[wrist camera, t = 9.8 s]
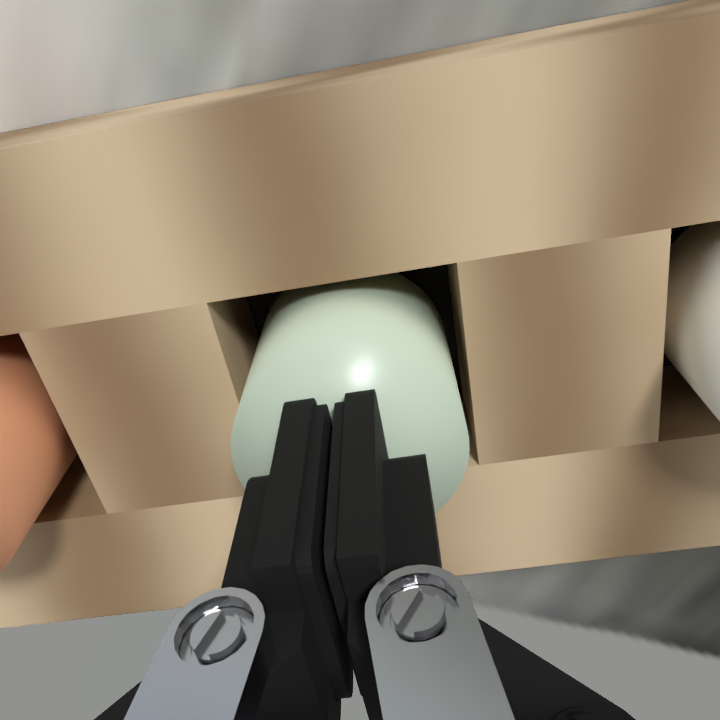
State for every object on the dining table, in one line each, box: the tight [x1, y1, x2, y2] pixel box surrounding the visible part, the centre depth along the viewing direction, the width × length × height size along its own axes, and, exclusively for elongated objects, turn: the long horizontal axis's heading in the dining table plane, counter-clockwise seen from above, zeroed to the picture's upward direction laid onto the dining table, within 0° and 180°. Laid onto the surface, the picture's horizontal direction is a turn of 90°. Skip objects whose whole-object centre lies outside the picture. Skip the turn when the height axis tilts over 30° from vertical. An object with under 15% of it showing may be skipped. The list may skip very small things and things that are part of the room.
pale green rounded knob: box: [230, 273, 470, 513], centre depth 14 cm, size 4×4×4 cm
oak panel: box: [0, 0, 720, 628], centre depth 15 cm, size 30×12×3 cm, turn 100°
